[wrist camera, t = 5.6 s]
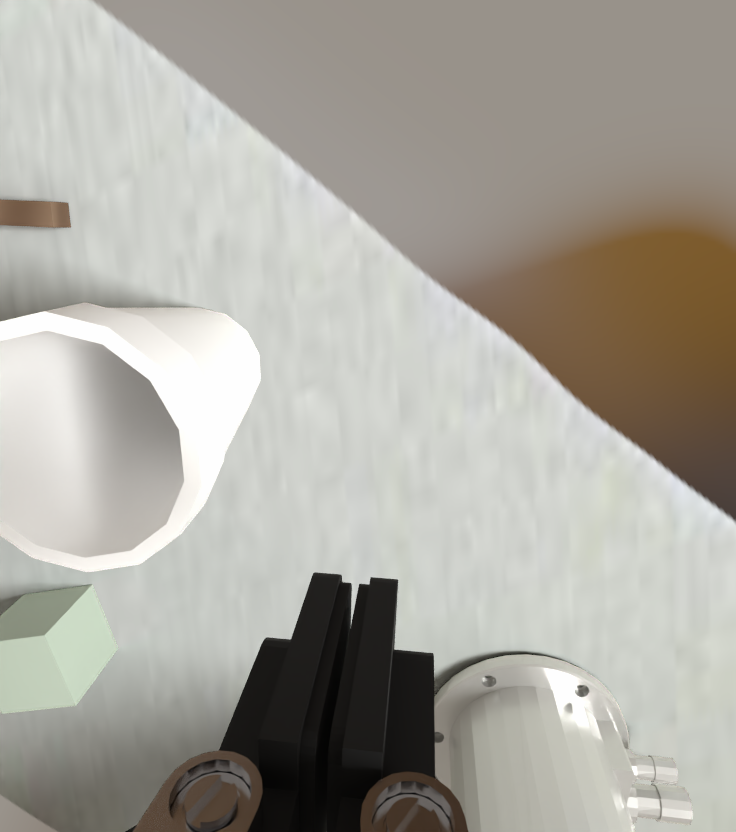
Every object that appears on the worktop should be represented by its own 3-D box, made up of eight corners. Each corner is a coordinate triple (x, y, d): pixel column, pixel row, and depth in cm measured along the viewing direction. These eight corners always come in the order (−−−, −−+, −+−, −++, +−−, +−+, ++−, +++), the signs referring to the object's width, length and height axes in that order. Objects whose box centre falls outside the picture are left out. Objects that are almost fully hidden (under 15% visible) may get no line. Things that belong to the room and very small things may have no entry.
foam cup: (210, 241, 30) (59, 251, 18) (323, 380, 32) (257, 477, 19) (89, 351, 33) (-116, 426, 20) (201, 474, 34) (73, 613, 22)
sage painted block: (92, 583, 38) (44, 635, 33) (118, 647, 39) (75, 705, 34) (24, 593, 38) (-33, 645, 34) (52, 655, 40) (1, 713, 35)
